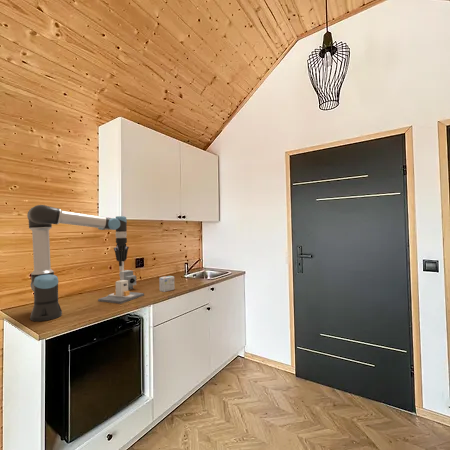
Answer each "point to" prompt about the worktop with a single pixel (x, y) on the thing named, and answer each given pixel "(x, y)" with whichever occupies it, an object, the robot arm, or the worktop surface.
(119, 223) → the robot arm
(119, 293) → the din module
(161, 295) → the worktop surface
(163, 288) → the light bulb box
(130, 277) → the circuit breaker
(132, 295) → the din rail board
